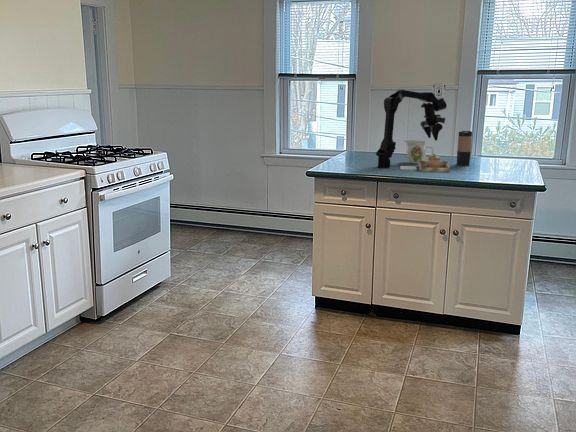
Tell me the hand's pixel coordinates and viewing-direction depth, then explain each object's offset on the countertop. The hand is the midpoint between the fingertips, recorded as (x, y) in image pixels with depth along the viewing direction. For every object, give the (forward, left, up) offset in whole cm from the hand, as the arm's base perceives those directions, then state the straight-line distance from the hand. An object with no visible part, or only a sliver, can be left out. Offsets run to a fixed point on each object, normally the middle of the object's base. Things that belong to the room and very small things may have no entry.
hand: (432, 139), depth 338 cm
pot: (0, -23, -14) cm, 27 cm away
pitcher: (-8, -2, -15) cm, 17 cm away
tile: (-14, -23, -15) cm, 30 cm away
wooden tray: (0, -23, -15) cm, 27 cm away
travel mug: (+18, -5, -15) cm, 24 cm away
